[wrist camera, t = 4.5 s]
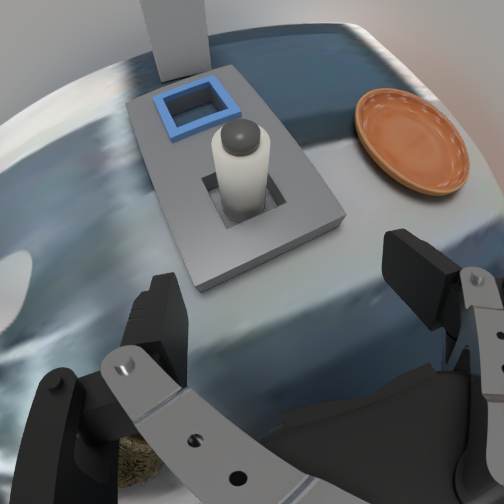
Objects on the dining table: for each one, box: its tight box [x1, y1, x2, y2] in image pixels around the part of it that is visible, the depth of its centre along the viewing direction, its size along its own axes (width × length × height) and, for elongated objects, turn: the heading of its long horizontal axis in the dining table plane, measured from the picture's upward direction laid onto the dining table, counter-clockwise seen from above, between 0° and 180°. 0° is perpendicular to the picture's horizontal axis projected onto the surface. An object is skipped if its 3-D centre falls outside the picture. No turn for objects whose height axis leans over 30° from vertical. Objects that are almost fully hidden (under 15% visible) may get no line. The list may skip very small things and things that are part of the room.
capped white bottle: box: [211, 119, 270, 223], centre depth 23 cm, size 4×4×10 cm
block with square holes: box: [125, 64, 346, 293], centre depth 28 cm, size 14×24×3 cm, turn 27°
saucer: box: [355, 89, 470, 196], centre depth 29 cm, size 16×16×3 cm
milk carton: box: [140, 0, 212, 82], centre depth 26 cm, size 7×7×19 cm
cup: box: [118, 432, 164, 488], centre depth 17 cm, size 8×7×8 cm
